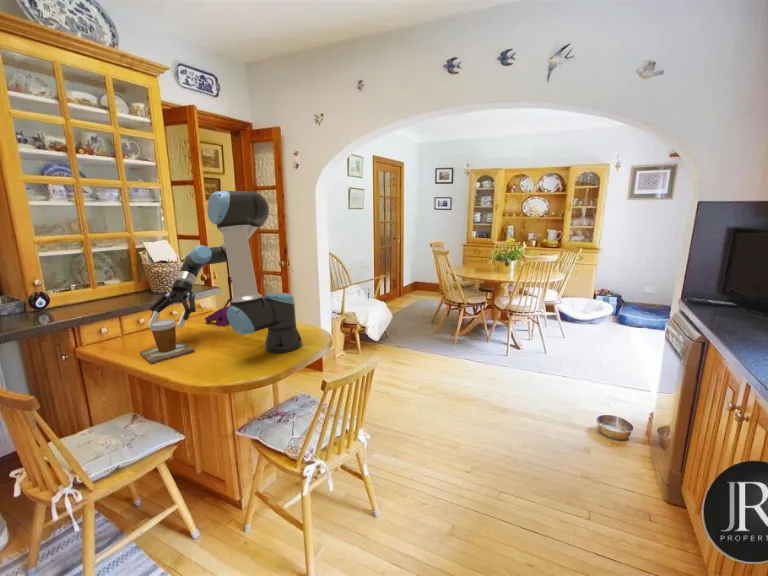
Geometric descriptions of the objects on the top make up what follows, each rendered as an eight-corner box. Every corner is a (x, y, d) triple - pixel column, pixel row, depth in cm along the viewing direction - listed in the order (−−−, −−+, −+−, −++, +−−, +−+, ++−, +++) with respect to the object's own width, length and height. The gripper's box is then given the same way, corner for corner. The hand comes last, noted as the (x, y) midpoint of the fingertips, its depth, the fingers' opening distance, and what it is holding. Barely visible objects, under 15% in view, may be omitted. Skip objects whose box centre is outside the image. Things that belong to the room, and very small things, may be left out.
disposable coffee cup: (179, 343, 160) (174, 317, 158) (181, 350, 153) (176, 323, 150) (153, 349, 155) (148, 322, 153) (154, 356, 148) (149, 327, 145)
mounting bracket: (208, 334, 195) (228, 323, 186) (201, 320, 195) (221, 308, 186) (222, 329, 203) (242, 318, 195) (215, 315, 203) (235, 303, 195)
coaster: (194, 352, 154) (194, 349, 154) (151, 364, 143) (150, 361, 143) (181, 343, 165) (181, 340, 165) (140, 354, 154) (139, 351, 154)
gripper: (213, 287, 166) (197, 330, 155) (164, 288, 170) (145, 329, 158) (204, 278, 160) (187, 322, 148) (153, 279, 164) (132, 321, 152)
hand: (165, 326), depth 153 cm, fingers open, 13 cm apart
